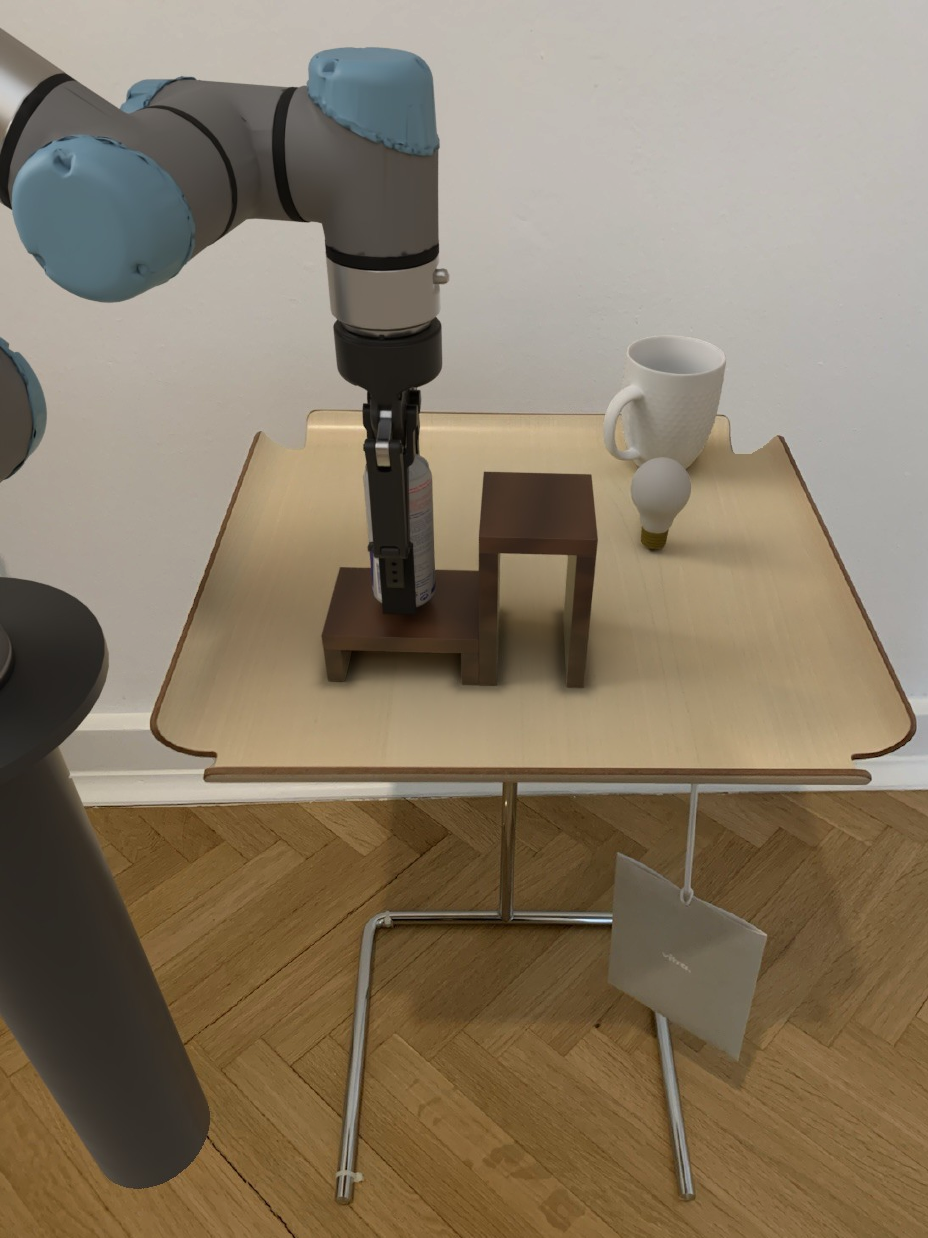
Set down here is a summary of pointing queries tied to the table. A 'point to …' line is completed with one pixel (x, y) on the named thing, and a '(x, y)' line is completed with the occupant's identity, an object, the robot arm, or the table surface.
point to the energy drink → (412, 531)
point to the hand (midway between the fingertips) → (403, 589)
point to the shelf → (480, 582)
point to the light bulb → (659, 498)
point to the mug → (666, 399)
